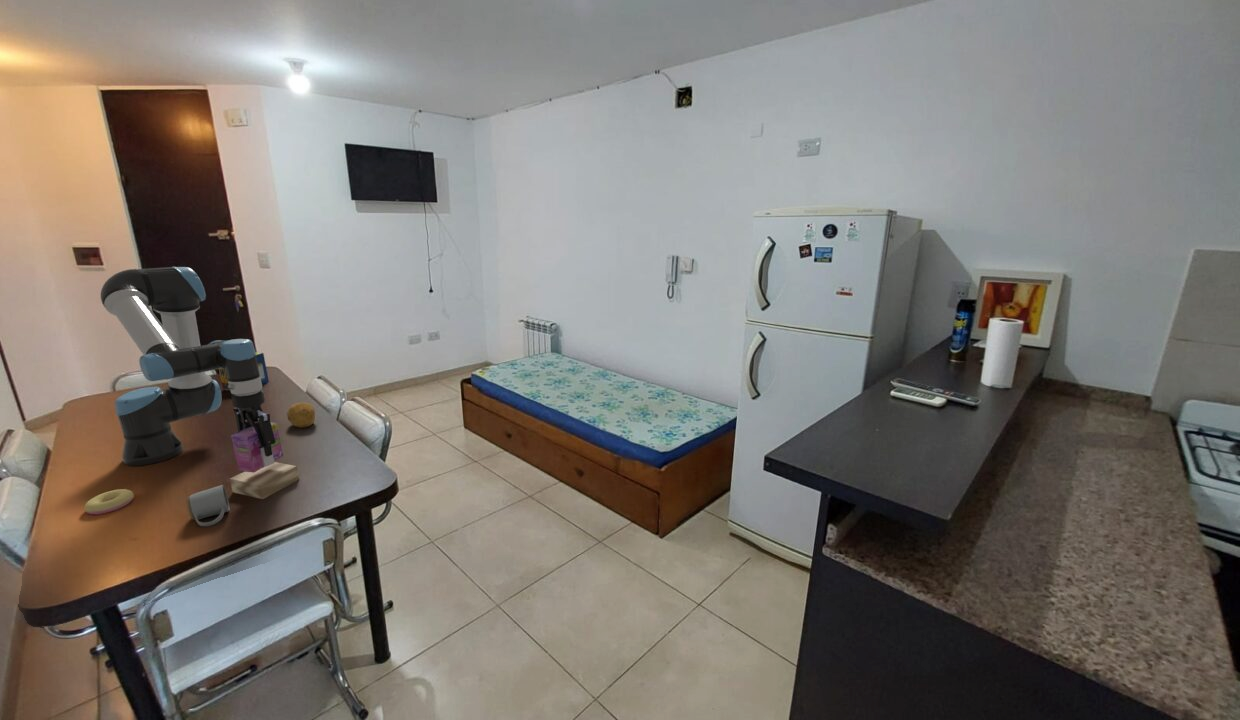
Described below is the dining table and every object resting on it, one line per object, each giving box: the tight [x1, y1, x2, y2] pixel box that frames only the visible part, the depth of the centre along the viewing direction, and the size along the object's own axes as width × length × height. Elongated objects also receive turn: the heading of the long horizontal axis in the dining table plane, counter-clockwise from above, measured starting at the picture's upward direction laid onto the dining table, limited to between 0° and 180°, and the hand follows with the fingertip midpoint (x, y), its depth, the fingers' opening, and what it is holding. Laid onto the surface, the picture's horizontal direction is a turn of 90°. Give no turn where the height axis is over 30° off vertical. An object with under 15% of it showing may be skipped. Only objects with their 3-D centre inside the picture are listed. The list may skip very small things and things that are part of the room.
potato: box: [286, 402, 316, 429], centre depth 191 cm, size 10×13×9 cm
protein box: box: [218, 351, 270, 392], centre depth 232 cm, size 10×15×16 cm
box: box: [230, 421, 284, 473], centre depth 146 cm, size 10×6×12 cm, turn 168°
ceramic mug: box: [186, 484, 231, 527], centre depth 133 cm, size 11×8×8 cm
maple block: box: [229, 461, 300, 500], centre depth 149 cm, size 12×12×5 cm
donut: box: [84, 488, 134, 515], centre depth 137 cm, size 10×5×9 cm
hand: (261, 462), depth 147 cm, fingers closed on box, 6 cm apart
